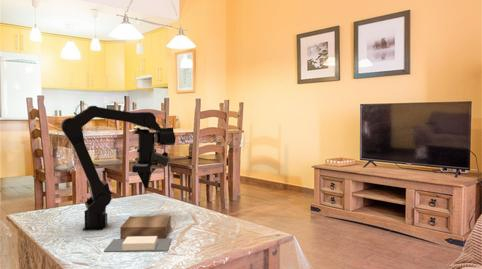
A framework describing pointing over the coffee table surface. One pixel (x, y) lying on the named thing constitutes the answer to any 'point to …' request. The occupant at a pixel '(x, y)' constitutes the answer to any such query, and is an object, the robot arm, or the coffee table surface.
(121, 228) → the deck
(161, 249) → the mat
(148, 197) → the coffee table surface
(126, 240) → the cream rectangular block
